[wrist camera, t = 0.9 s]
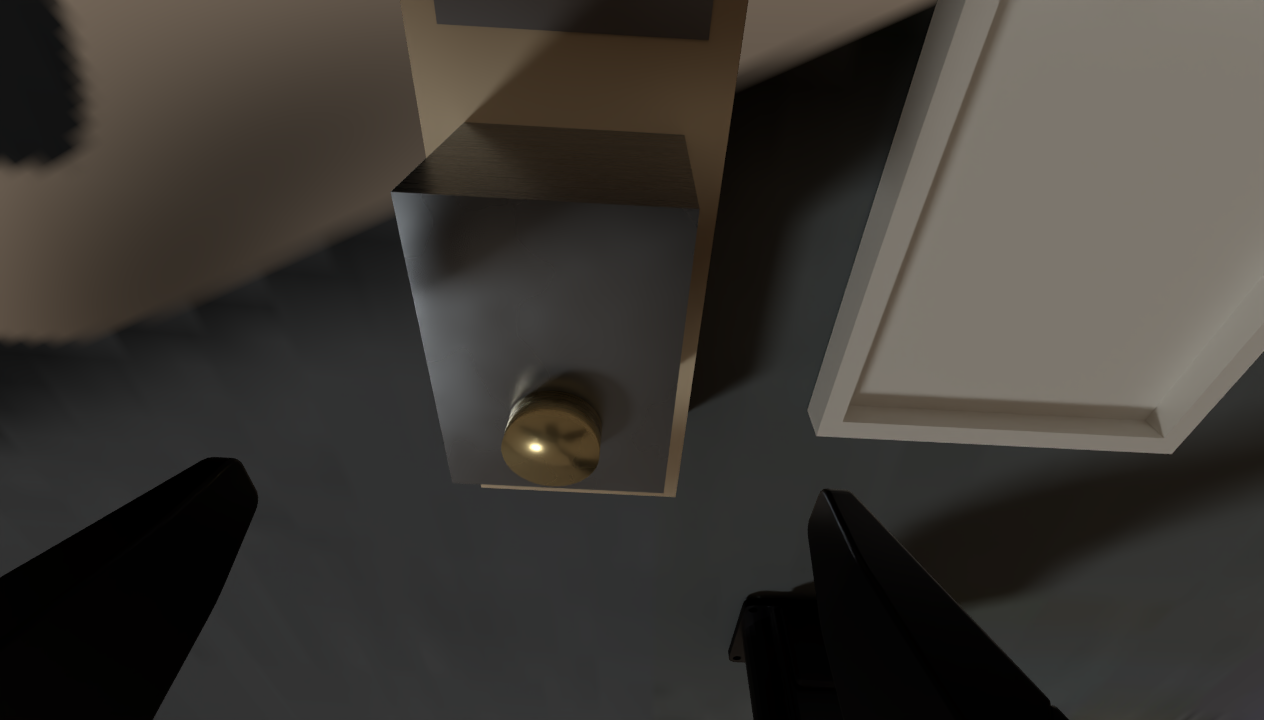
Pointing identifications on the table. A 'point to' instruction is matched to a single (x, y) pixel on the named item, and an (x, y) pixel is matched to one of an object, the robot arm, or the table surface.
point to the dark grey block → (552, 300)
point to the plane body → (591, 97)
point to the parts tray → (1061, 231)
